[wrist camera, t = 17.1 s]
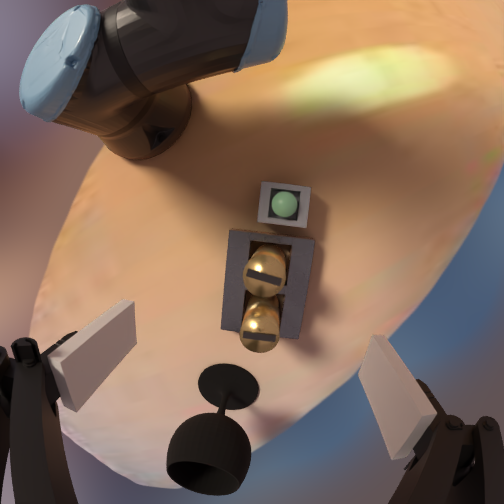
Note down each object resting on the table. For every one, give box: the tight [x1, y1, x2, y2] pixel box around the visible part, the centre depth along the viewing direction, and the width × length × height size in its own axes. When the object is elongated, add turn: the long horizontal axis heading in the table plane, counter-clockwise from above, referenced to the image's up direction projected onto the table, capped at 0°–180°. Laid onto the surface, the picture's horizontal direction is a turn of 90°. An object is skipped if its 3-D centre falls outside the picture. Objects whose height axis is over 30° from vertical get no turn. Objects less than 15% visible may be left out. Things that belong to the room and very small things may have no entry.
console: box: [257, 181, 311, 228], centre depth 34 cm, size 6×5×4 cm
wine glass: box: [167, 364, 258, 496], centre depth 32 cm, size 10×10×20 cm
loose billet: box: [240, 294, 280, 353], centre depth 34 cm, size 4×4×10 cm
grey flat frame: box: [221, 228, 315, 339], centre depth 37 cm, size 11×14×2 cm
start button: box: [272, 192, 297, 217], centre depth 32 cm, size 3×3×2 cm
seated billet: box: [243, 244, 286, 297], centre depth 32 cm, size 4×4×10 cm
